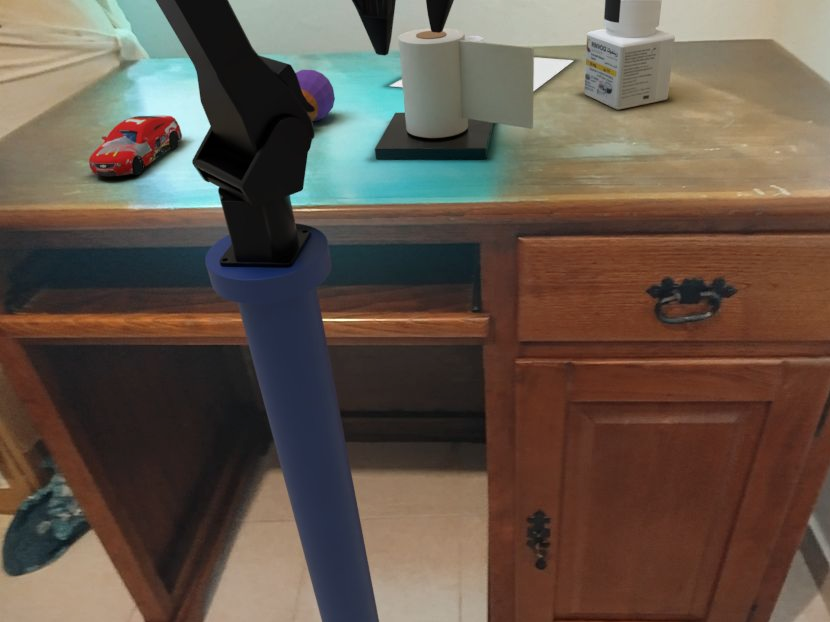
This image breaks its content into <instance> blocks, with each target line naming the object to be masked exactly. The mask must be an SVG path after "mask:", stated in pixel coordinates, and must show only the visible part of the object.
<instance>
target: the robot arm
mask: <svg viewBox="0 0 830 622" xmlns="http://www.w3.org/2000/svg"><path fill="white" fill-rule="evenodd" d="M396 1H397V0H351V2H352V3H353V5H354V7H355V9H356V11H357V14H358V16H359V18H360V21H361V23H362V25H363V27H364V29H365V32H366V34H367V36H368V38H369V41H370V44H371V46H372V48H373V50H374V52H375V54H376V55H378V56H388V55H389V52H390V48H391V42H392V35H393V28H394V20H395V19H394V18H395V10H396ZM454 1H455V0H425V4H426V12H427V18H428V23H429V28H431V31H432V32H436V33H440V32H442V31H443V29H444V28H445V25H446V23H447V21H448V18H449V15H450V12H451V9H452V7H453V4H454ZM155 2H156V4H157V5H158V7H159V9H160V10H161V12H162V14H163V15H164V17H165V19H166V21H167V22H168V24H169V25H170V27H171V29H172V30H173V32H174V34H175V36H176V37H177V39H178V41H179V43H180V45H181V46H182V47H183V49H184V50H185V53H186V55H187V57H188V59H190V61H191V63H192V65H193V67H194V69H195V72H196V77H197V84H198V93H199V100H200V104H201V107H202V109H203V111H204V114H205V116H206V119H207V121H208V123H209V125H210V127H209V129H208V131H207V132H206V134H205V136H204V138H203V140H202V142H201V143H200V145H199V147H198V149H197V150H196V153H195V155H194V156H193V158H192V160H191V161H192V166H193V167H194V169H195V170H196V171H197V173H198V174H199V176H200V177H201V178H202V180H203V181H204V182H206V183H210V184H213V185H214V186H217V187H218V189H217V192H218V196H219V200H220V204H221V209H222V213H223V216H224V220H225V224H226V227H227V228H226V229H227V232H228V235H229V236H230V240H231V243H232V244H231V246H230V247H229V248H228V250H227V251H226V252H225V253H224V255H223V256H222V257H221V259H220V260H219V262H220V265H221V266H222V267H263V268H289V267H292V266H293V265H294V263H295V261H296V260H297V258H298V256H299V255H300V253H301V251H302V250H303V248H304V246H305V245H306V243H307V241H308V240H309V238H310V237H311V231H310V230H309V229H296V225H295V223H296V221H295V220H296V219H295V215H294V210H293V205H292V201H291V196H292V195H295V194H297V193H299V192H302V191H303V190H304V185H305V180H306V179H305V178H306V171H307V161H308V155H309V152H310V149H311V147H312V141H313V139H314V138H315V136H316V135H315V126H314V123H313V121H312V120H311V117H310V115H309V114H308V112H314V110H315V108H314V107H313V106H312V105H311V104H310V103H309V102H308V101H307V100H306V98H305V97H304V95H303V93H302V90H301V88H300V84H299V81H298V78H297V75H296V72H295V70H294V67H293V66H292V64H289V63H287V62H283V61H280V60H277V59H273V58H270V57H266V56H263V55H259V53H258V52H256V50H255V49H254V47H253V46H252V43H251V42H250V40H249V37H248V35H247V34H246V32H245V30H244V29H243V28H244V27H242V25H241V22H240V20H239V19H238V16H237V15H236V13H235V11H234V9H233V7H232V5H231V3H230V2H229V0H155Z"/></svg>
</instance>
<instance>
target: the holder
mask: <svg viewBox="0 0 830 622" xmlns="http://www.w3.org/2000/svg"><path fill="white" fill-rule="evenodd" d="M392 116H393V117H391V119H390V121H389V122H388V124H387V127H386V128H385V130H384V132H383V133H382V135H381V137H380V139H379V140H378V142H377V144H376V146H374V147H375V148H374V155H375V159H376V160H486V159H487V156H488V152H489V147H490V143H491V142H490V141H491V138H492V133H493V129H494V124H495V123H492V122H486V121H479V120H473V119H468V128H467V129H466V130H465V131H464V132H462V133H460V134H457V135H454V136H449V137H443V138H423V137H417V136H414V135H411V134H410V133H408V132H407V130H406V120H405V112H395V113H394V114H393V115H392Z"/></svg>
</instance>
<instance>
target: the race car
mask: <svg viewBox="0 0 830 622" xmlns="http://www.w3.org/2000/svg"><path fill="white" fill-rule="evenodd" d="M182 138H183V134H182V131H181V127H180V125H179V123H178V121H177V119H176V118H175V117H173V116H172V115H138V116H137V115H136V116H132V117H129V118H127V119H124V120H122V121H121V122H120V123H118V124H116V126H114V128H112V129H111V131H110V132H109V133H108V135H107V136H105V135H103V136H101V139H102V140H103V143H102V144H101V145H100V146H99V147H98V148H97V149H96V150H94V151H93V152H92V153H91V155H90V156H89V159H88V164H89V168H90V170H91V173H93V174H94V175H95V176H100V177H121V176H126V175H134V176H140V175H142V173H143V172H144V167H147V166H148V165H150V164H151V163H152V162H154V161H155V160H157V159H158V158H160V157H161V156H162V155H164V154H165V153H166V152H168V151H169V150H175V149H177V148H178V147H179V143H180V141H181V140H182Z"/></svg>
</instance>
